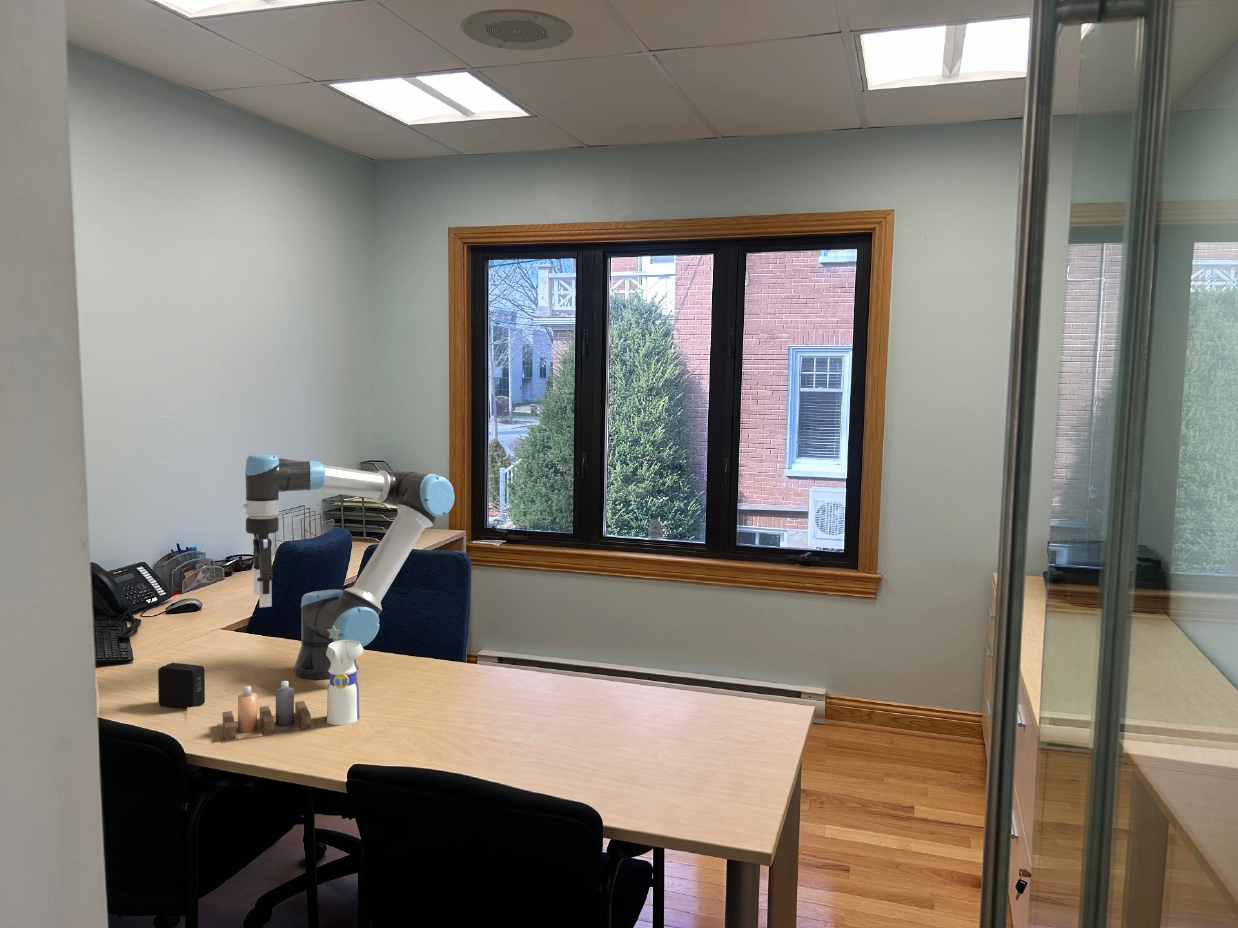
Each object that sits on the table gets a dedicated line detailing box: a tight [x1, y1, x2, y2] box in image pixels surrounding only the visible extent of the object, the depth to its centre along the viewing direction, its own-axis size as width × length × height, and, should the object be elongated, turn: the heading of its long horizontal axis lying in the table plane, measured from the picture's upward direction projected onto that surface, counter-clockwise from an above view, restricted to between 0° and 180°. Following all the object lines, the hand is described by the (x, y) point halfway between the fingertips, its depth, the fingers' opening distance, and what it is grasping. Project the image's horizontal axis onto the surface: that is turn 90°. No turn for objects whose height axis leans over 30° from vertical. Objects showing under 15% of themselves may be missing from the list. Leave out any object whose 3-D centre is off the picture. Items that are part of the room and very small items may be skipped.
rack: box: [217, 700, 316, 744], centre depth 195 cm, size 20×12×4 cm, turn 119°
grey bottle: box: [275, 680, 295, 727], centre depth 196 cm, size 4×4×10 cm
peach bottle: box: [237, 685, 258, 733], centre depth 192 cm, size 4×4×10 cm
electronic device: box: [157, 662, 206, 710], centre depth 208 cm, size 4×10×10 cm, turn 79°
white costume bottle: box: [326, 626, 364, 726], centre depth 199 cm, size 8×9×25 cm
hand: (262, 600), depth 209 cm, fingers open, 13 cm apart
